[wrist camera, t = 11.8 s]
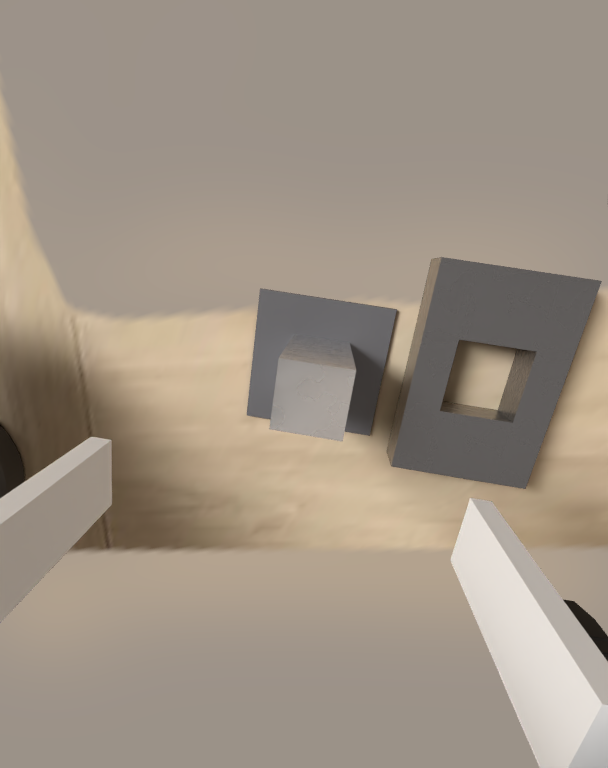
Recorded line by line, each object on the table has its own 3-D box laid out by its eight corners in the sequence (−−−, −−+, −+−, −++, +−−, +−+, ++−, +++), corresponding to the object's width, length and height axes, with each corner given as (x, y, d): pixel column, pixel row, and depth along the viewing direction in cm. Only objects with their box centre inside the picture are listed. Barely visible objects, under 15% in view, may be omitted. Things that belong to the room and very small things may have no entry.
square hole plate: (386, 451, 36) (391, 466, 33) (431, 258, 31) (441, 257, 28) (509, 471, 36) (525, 488, 33) (576, 280, 30) (601, 281, 28)
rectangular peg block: (287, 386, 35) (269, 429, 25) (294, 334, 33) (278, 358, 24) (340, 395, 34) (342, 441, 25) (349, 342, 33) (356, 370, 23)
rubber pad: (247, 413, 36) (246, 415, 36) (261, 288, 33) (260, 288, 32) (369, 433, 36) (369, 435, 35) (396, 309, 32) (396, 309, 32)
